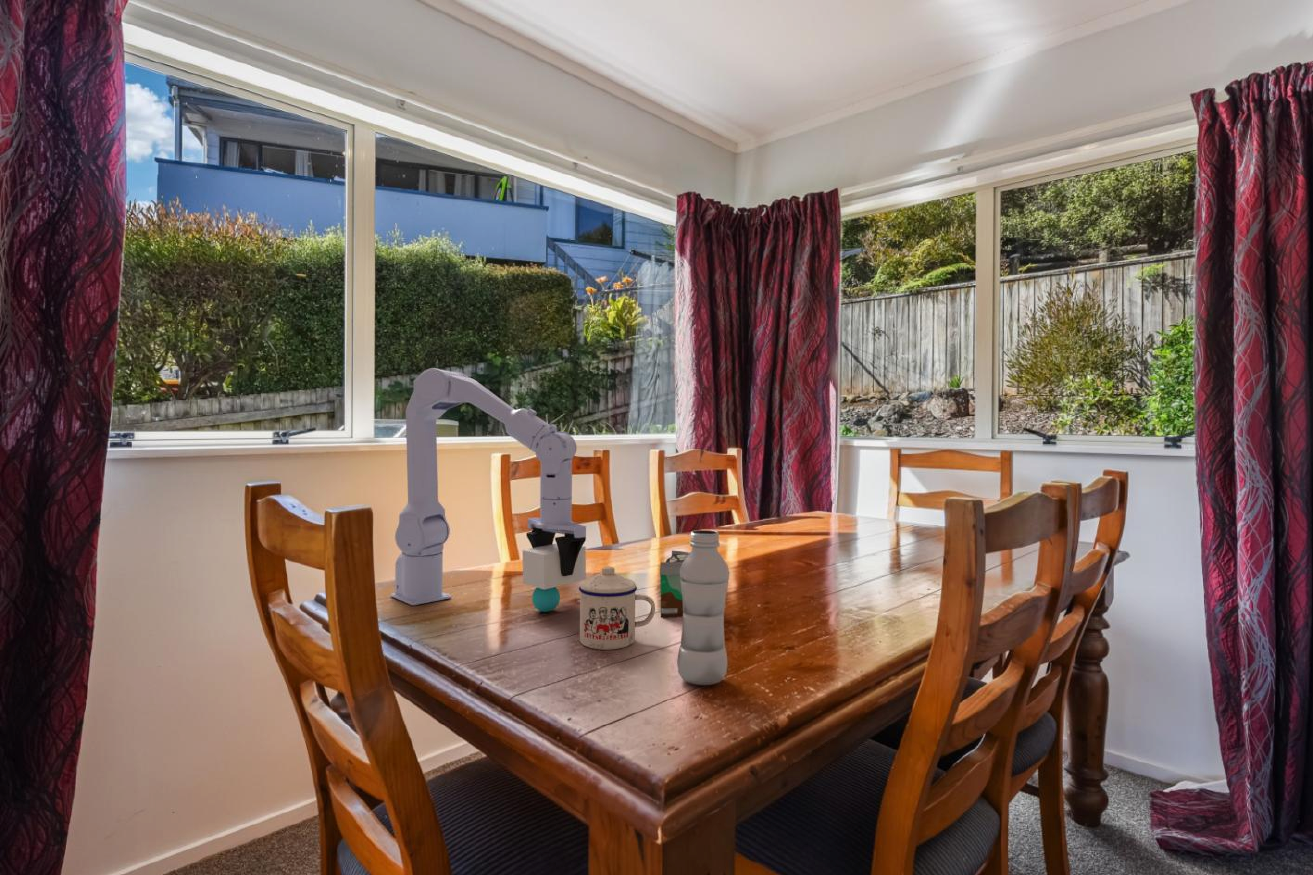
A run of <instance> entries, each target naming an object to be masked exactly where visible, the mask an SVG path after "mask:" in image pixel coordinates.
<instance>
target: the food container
mask: <svg viewBox="0 0 1313 875" xmlns="http://www.w3.org/2000/svg"><path fill="white" fill-rule="evenodd" d="M689 553H690V552H688V551H683V550H682V551H681V550H671V556H670V557H669V558H666V560H665V562H663V561H661V562H660V566H659V575H660V618H663V619H664V618H665V619H666V618H668V619H669V618H672V619H674V618H680V617H681V618H683V613H684V611H683V598H682V589H681V581H680V580H681V579H680V569H681V566H682V563H683V562H684V560H685V559H686V557H687V556H688V554H689Z"/></svg>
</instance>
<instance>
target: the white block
mask: <svg viewBox="0 0 1313 875" xmlns="http://www.w3.org/2000/svg"><path fill="white" fill-rule="evenodd" d="M586 548H587V547H586V546H585V545H583V546H582V548H581V550H580V552H579V554H578V557H577V560H576V564H575V567H574V571H573V575H569V576H562V574H561V566H560V554H559V550H558V546H557V543H553V544H552V545H546V546H541V547H536V548H527V549H522V583H523V585H527V586H531V587H534V588H541V589H544V590H545V589H549V588H553V587H556V588H557V587H559V586H560V587H561V586H564V585H568V584H572V583H577V582H581V581H584V580H586V579H587V568H586V566H587V561H586V560H587V559H586V558H587V557H586V553H587V551H586V550H587V549H586Z"/></svg>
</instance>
